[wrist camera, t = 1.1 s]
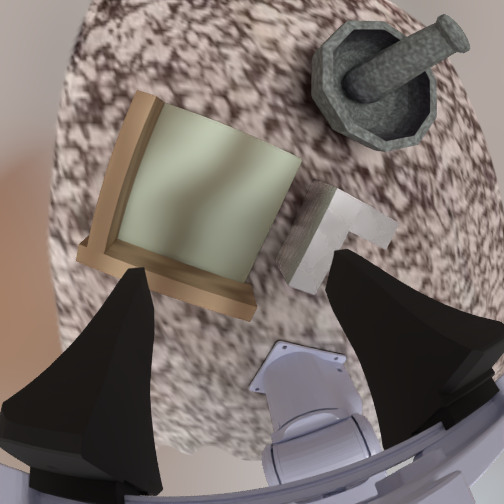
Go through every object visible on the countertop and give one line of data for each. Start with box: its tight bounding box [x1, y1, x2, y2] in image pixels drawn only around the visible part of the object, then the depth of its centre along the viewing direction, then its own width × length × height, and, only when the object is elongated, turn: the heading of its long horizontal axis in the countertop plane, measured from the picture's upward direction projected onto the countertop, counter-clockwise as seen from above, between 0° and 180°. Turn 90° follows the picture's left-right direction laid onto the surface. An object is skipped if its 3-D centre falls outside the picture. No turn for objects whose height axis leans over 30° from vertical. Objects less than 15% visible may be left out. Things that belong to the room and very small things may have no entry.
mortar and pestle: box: [311, 14, 470, 152], centre depth 16 cm, size 11×9×12 cm
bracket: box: [275, 179, 399, 295], centre depth 24 cm, size 8×6×5 cm
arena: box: [76, 90, 302, 322], centre depth 21 cm, size 15×14×4 cm
